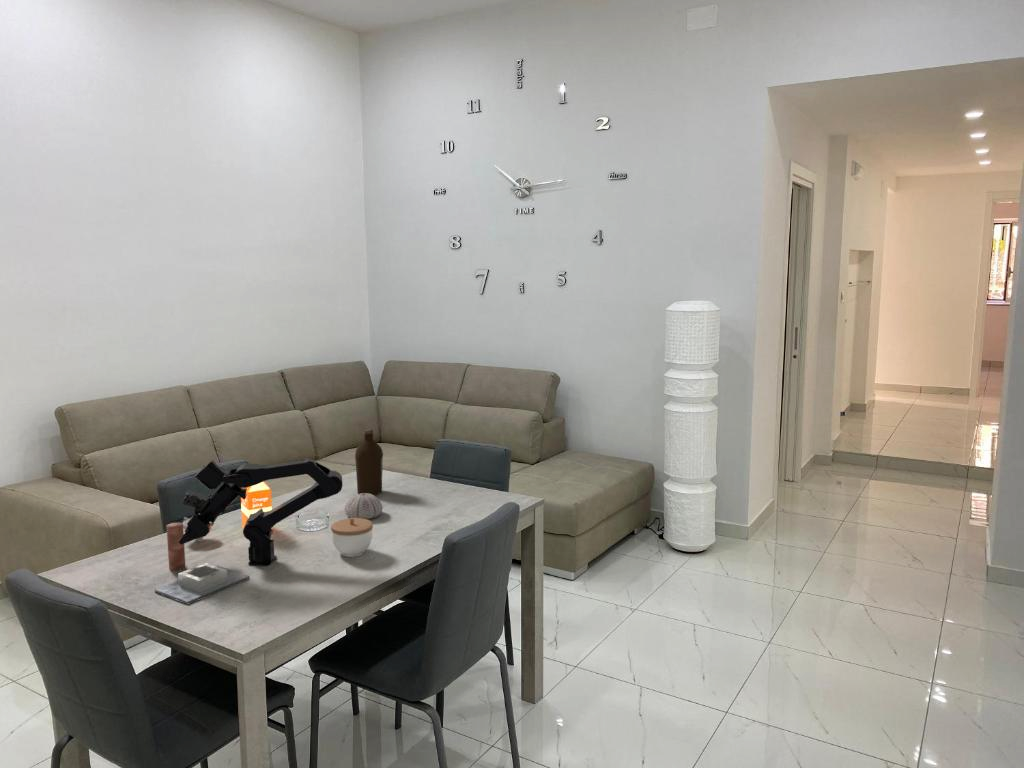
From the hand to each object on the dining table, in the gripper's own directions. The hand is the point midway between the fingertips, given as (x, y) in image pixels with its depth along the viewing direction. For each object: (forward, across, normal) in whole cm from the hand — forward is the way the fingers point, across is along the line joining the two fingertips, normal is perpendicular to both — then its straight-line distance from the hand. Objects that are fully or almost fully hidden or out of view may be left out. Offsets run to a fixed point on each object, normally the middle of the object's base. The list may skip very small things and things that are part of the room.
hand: (182, 537), depth 224 cm
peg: (+8, 0, +5) cm, 9 cm away
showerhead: (+6, -23, +7) cm, 24 cm away
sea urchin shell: (-31, -37, +44) cm, 65 cm away
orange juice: (-6, -29, +19) cm, 35 cm away
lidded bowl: (-28, -2, +41) cm, 49 cm away
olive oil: (-34, -64, +46) cm, 86 cm away
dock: (+1, +15, +12) cm, 19 cm away
